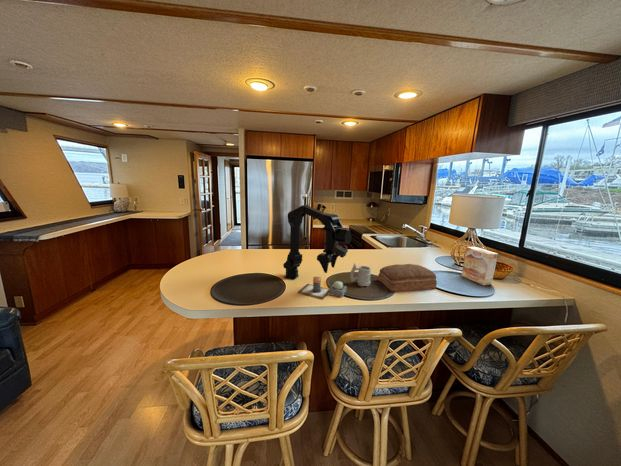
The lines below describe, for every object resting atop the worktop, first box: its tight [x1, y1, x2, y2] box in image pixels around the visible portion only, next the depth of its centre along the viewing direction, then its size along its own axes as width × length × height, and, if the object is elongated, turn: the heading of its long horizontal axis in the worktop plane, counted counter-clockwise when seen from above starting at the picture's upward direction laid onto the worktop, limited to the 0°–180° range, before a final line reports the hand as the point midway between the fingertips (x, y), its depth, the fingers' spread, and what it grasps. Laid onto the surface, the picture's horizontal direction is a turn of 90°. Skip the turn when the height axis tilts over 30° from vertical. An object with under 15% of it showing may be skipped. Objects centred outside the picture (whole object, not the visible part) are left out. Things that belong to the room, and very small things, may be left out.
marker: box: [312, 276, 322, 292], centre depth 125 cm, size 4×4×7 cm
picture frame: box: [297, 283, 329, 300], centre depth 126 cm, size 14×11×1 cm
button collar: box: [328, 283, 348, 298], centre depth 126 cm, size 7×7×3 cm
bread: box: [377, 263, 438, 292], centre depth 139 cm, size 17×29×11 cm, turn 102°
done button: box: [333, 280, 344, 290], centre depth 125 cm, size 4×4×4 cm
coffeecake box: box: [460, 246, 499, 286], centre depth 148 cm, size 15×7×20 cm, turn 18°
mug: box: [349, 263, 372, 287], centre depth 137 cm, size 8×12×12 cm, turn 87°
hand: (329, 270), depth 123 cm, fingers open, 9 cm apart
